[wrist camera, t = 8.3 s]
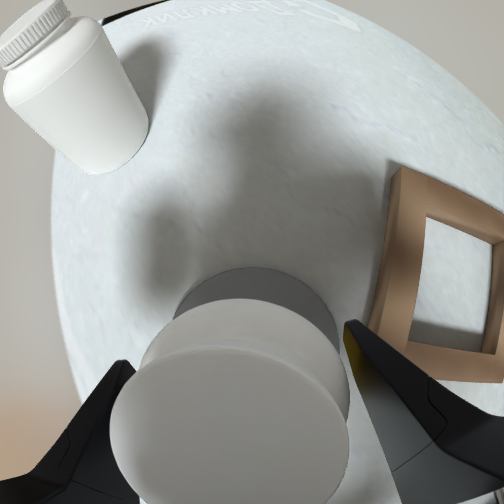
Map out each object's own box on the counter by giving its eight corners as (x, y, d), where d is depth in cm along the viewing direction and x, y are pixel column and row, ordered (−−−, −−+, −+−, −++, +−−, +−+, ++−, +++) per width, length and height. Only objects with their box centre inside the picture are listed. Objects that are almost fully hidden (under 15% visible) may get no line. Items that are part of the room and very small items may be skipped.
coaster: (354, 399, 16) (357, 402, 15) (200, 442, 16) (198, 446, 15) (307, 247, 18) (308, 245, 18) (151, 295, 18) (148, 295, 18)
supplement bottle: (321, 323, 17) (449, 343, 4) (286, 418, 15) (317, 570, 3) (219, 290, 17) (114, 237, 5) (187, 385, 16) (64, 487, 4)
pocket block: (488, 380, 15) (502, 383, 13) (357, 364, 16) (367, 370, 15) (506, 229, 18) (519, 223, 16) (391, 177, 19) (401, 165, 17)
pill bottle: (124, 186, 20) (0, 58, 5) (64, 170, 21) (-39, 80, 6) (167, 109, 21) (105, -31, 7) (104, 104, 22) (35, 0, 8)
